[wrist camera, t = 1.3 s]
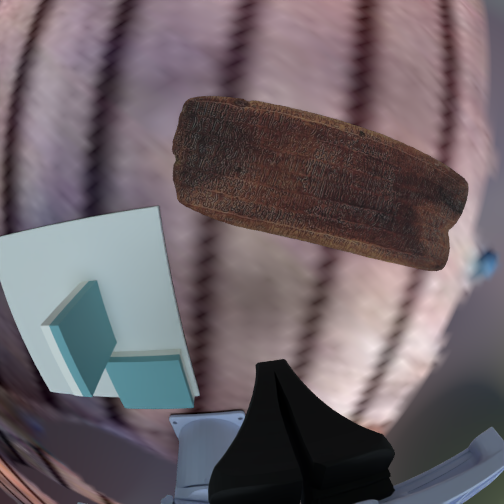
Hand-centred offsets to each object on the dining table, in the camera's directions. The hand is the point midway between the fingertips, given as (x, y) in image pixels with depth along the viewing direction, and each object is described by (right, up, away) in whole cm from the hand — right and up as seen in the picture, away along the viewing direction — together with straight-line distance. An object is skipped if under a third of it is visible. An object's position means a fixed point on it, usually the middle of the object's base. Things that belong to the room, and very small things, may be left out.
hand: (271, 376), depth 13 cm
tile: (-14, +1, +9) cm, 16 cm away
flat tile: (-10, -6, +11) cm, 16 cm away
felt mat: (-16, 0, +9) cm, 18 cm away
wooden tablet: (+6, +11, +9) cm, 16 cm away
